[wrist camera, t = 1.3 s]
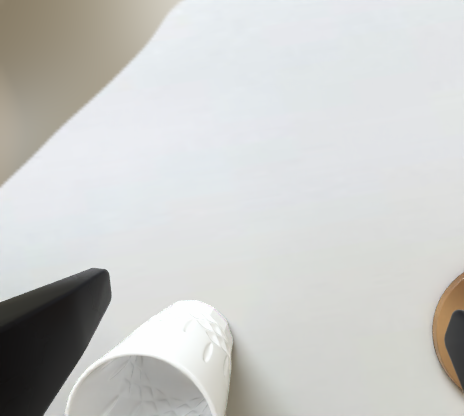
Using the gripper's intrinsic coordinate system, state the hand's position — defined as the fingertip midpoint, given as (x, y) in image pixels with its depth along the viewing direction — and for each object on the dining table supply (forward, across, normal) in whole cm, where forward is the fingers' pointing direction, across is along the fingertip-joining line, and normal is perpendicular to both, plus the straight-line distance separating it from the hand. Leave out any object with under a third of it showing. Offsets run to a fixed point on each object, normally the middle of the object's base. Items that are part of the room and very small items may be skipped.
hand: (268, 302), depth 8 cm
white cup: (+12, +5, +14) cm, 19 cm away
